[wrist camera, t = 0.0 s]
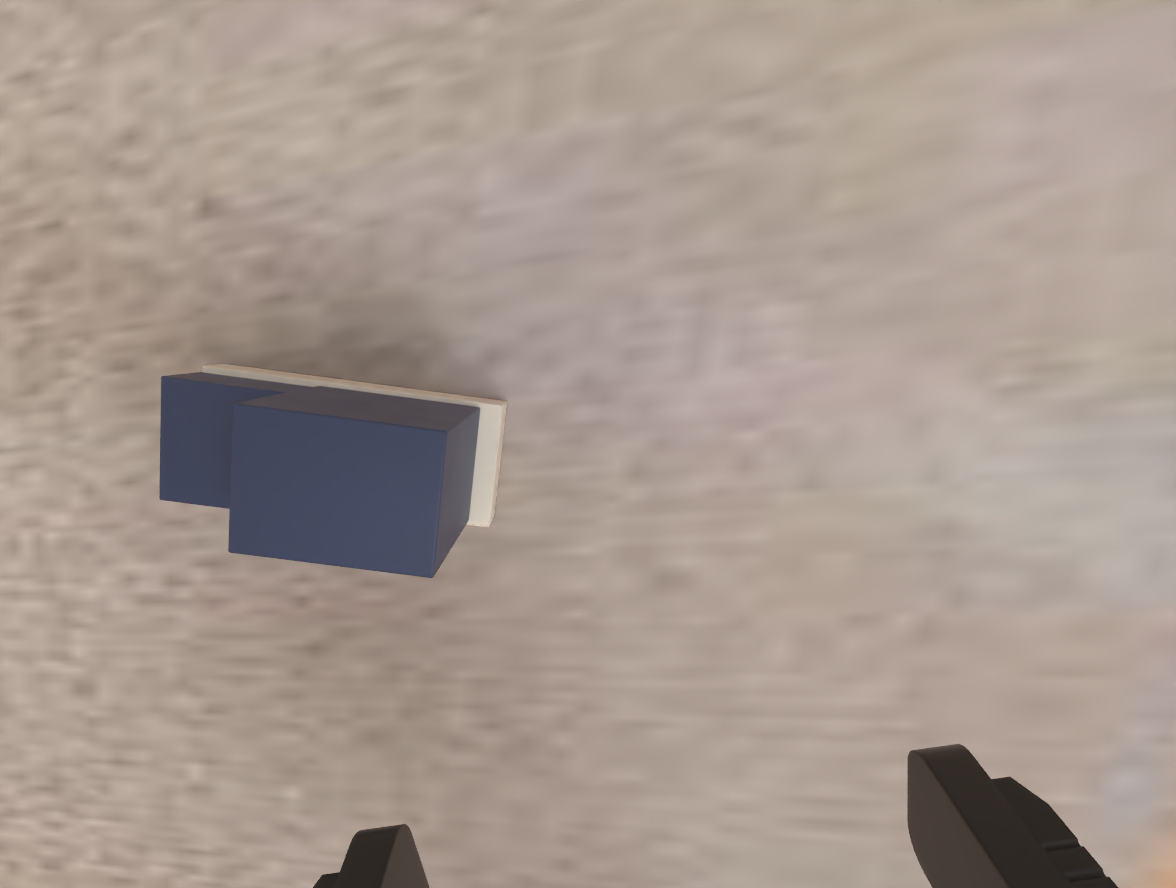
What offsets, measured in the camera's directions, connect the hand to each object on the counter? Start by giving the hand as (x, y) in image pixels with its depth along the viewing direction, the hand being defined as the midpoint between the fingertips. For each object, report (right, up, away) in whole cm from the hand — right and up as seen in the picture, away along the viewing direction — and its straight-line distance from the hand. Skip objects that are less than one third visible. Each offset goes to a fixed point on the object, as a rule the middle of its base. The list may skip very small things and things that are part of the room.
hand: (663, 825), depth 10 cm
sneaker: (-13, +6, +22) cm, 26 cm away
